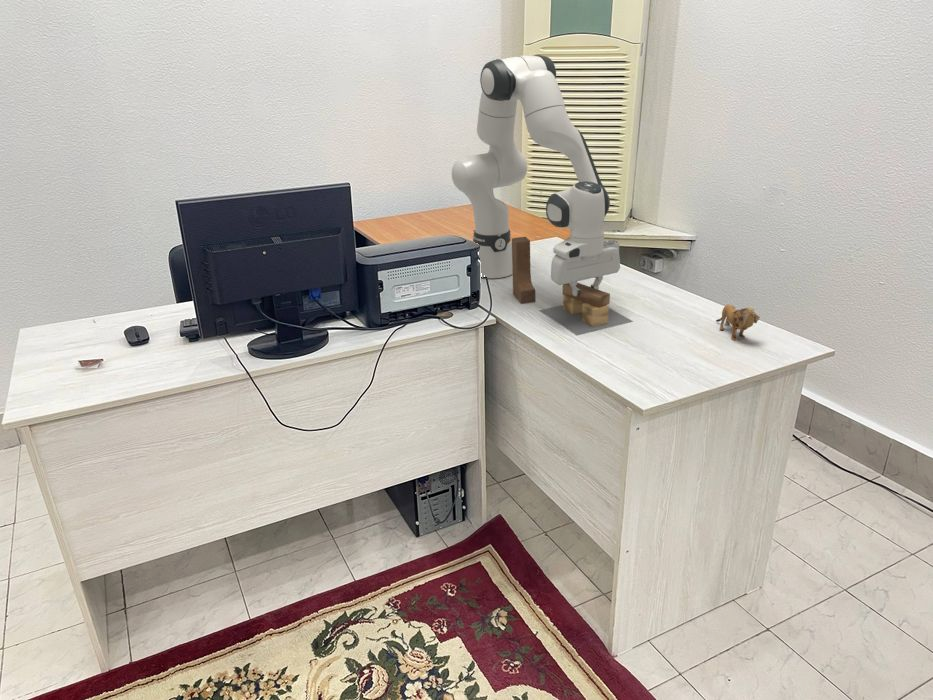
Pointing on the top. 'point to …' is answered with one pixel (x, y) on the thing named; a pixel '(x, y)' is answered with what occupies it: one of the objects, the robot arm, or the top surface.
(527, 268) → the wooden block
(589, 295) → the lintel
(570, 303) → the cube
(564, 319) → the mat
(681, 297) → the top surface
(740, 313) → the lion figurine
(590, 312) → the cube
